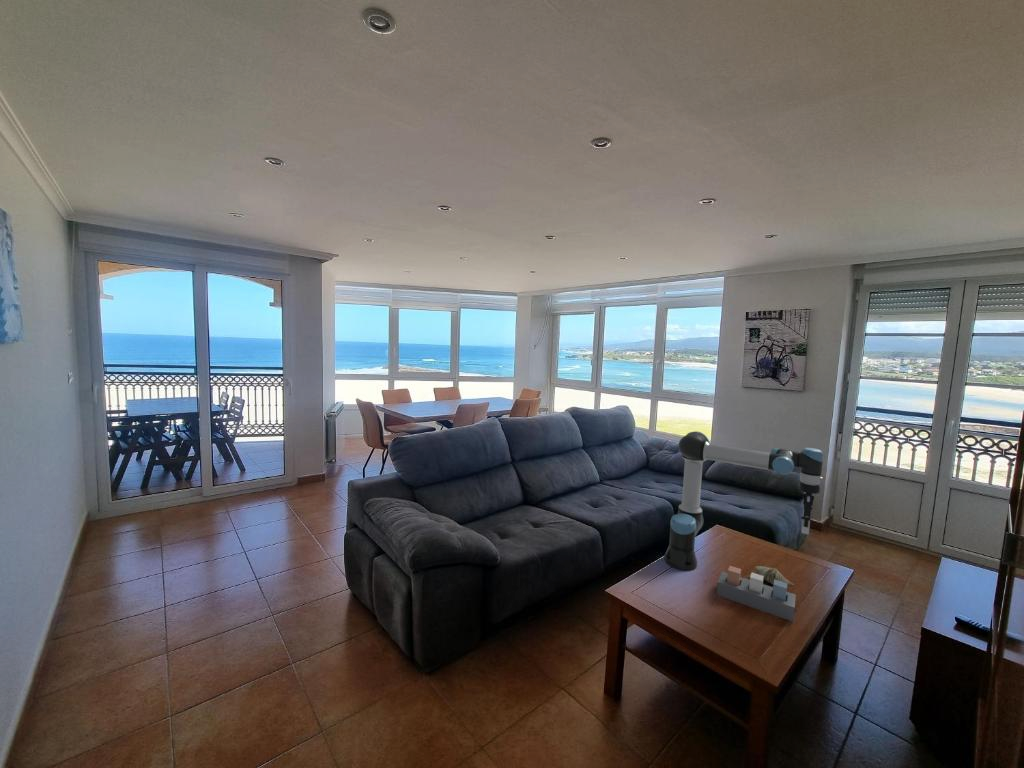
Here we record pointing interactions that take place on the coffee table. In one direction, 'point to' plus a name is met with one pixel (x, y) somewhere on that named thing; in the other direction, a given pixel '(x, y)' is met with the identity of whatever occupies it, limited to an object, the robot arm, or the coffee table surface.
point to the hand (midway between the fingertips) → (805, 528)
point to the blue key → (779, 590)
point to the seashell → (771, 575)
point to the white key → (756, 582)
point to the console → (757, 597)
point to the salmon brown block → (734, 575)
